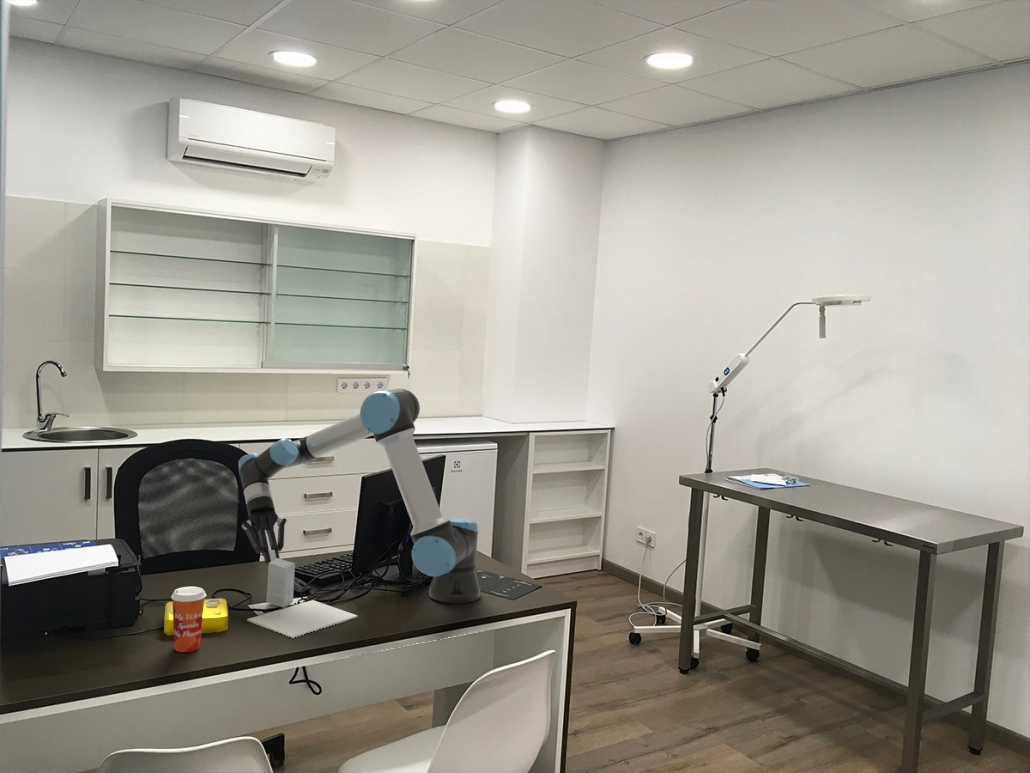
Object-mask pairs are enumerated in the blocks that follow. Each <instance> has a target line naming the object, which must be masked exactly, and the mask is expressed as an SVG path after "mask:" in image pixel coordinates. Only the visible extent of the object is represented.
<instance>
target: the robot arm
mask: <svg viewBox="0 0 1030 773" xmlns="http://www.w3.org/2000/svg"><path fill="white" fill-rule="evenodd" d="M420 406H421V405H420V402H419V399H418V398H417V396H416V395H415V394H414V393H413V392H412V391H410V390H409V389H405V388H394V389H381V390H378V391H374V392H372V393H370V394H369V395H367V396H366V398H365V399H363V402H362V404H361V406H360V410H359V413H358V414H355V415H353V416H351V417H348V418H346V419H344V420H341V421H339V422H337V423H335V424H332V425H329V426H327V427H325V428H323V429H320V430H318V431H315V432H313V433H311V434H309V435H307V436H306V435H305V436H304V437H301V438H299V439H295V440H291V439H288V438H286V437H284V438H281V439H279V440H278V441H276V442H274V443H272V444H271V446H269V447H268V448H267V449H265V450H264V451H263V452H260V454H259V453H257V452H256V453H255V452H254V453H253V452H251V453H248V454H246V455H243V456H241V458H240V459H239V460H238V474H239V478H240V481H241V485H242V489H243V495H244V500H245V504H246V510H247V515H248V517H247V518H248V519H247V520H246V521H243V522H242V525H241V529H242V530H243V532H244V533H246V536H247V537H248V539H249V541H250V544H251V546H252V548H253V549H254V552H255V553H256V554H261V556H263V559H264V563H265V565H269V563H270V562H272V561H273V560H275V559H277V558H279V559H281V558H280V553H279V552H281V551H282V550H283V548H284V546H285V545H284V544H285V525H286V523H287V521H288V520H287V519H286V518H280V517H279V515H278V514H277V513H276V509H275V508H276V507H275V505H274V501H273V495H272V491H271V488H270V483H269V479H271V478H272V477H274V475H275V476H276V474H278V473H279V472H281V471H282V470H285V469H287V468H291V467H296V466H300V465H306V464H308V463H311V462H313V461H315V460H316V459H318V458H320V457H322V456H323V457H324V456H325V455H328V454H329V453H333V452H335V451H337V450H340V449H342V448H344V447H347V446H349V445H352V444H354V443H356V442H359V441H362V440H364V439H366V438H369V437H372V436H373V438H374V440H375V442H376V444H377V445H380V446H382V447H383V448H384V451H385V453H386V456H387V459H388V462H389V464H390V468H391V470H392V473H393V475H394V478H395V481H396V483H397V487H398V489H399V492H400V494H401V497H402V499H403V502H404V505H405V507H406V510H407V514H408V516H409V519H410V521H411V524H412V526H413V527H412V530H411V532H410V537H411V540H412V542H413V545H412V549H411V559H412V563H413V564H414V566H415V567H416V569H418V571H420V573H422V574H424V575H426V576H428V577H432V580H431V582H430V585H429V588H428V595H429V597H430V598H431V599H433V600H434V601H437V602H440V603H445V604H446V603H448V604H468V603H469V604H470V603H472V602H475V601H478V600H479V599H480V598H481V588H480V585H479V580H478V577H477V572H476V566H477V565H476V563H477V549H478V547H477V546H478V536H479V535H478V534H479V531H478V530H479V527H478V523H477V522H476V521H475V520H472V519H468V518H467V519H466V518H458V517H457V518H456V517H446V516H444V515H443V514H442V512H441V509H440V506H439V504H438V501H437V498H436V495H435V493H434V490H433V487H432V484H431V482H430V479H429V477H428V474H427V471H426V468H425V466H424V464H423V461H422V458H421V455H420V453H419V450H418V446H417V444H416V442H415V439H414V437H413V435H414V433H415V431H416V427H415V422H416V420H417V419H418V418H419V415H420V409H421V407H420ZM276 523H277V527H278V529H277V538H276V535H275V530H274V529H275V525H276ZM254 529H255V530H256V531H255V530H254ZM256 532H257V534H256ZM257 535H258V536H257ZM267 537H268V539H267ZM268 542H269V544H268ZM269 546H270V548H269ZM269 549H270V550H269Z"/></svg>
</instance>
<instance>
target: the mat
mask: <svg viewBox="0 0 1030 773" xmlns="http://www.w3.org/2000/svg"><path fill="white" fill-rule="evenodd" d="M356 618H358V615H357V614H354V613H351V612H348V611H345V610H343V609H340V608H337V607H334V606H331V605H328V604H325V603H322V602H319V601H316V600H314V599H312V600H308V601H305V602H302V603H301V602H300V603H299V604H295V605H291V606H287V607H285V608H279V609H278V610H274V611H270V612H267V613H263V614H260V615H257V616H254V617H250V618H247V619H246V621H247V622H249V623H252V624H253V625H257V626H259V627H261V628H265V629H267V630H269V629H270V630H269V631H271V630H273V631H272V632H274V631H275V632H274V633H276V632H278V633H277V634H279V633H281V634H283V635H282V636H284V635H286V636H285V637H287V636H288V637H287V638H289V637H291V638H290V639H292V638H293V639H296V638H299V637H302V636H305V635H304V634H306V633H309V634H311V633H310V632H312V633H314V632H313V631H315V632H317V630H318V631H320V630H319V629H321V630H323V629H322V628H324V629H327V628H329V626H330V627H332V625H333V626H336V625H339V624H342V623H344V622H347V621H351V620H353V619H356ZM335 624H336V625H335ZM326 627H327V628H326ZM281 634H280V635H281ZM301 635H302V636H301ZM306 635H307V634H306ZM298 636H299V637H298ZM295 637H296V638H295Z"/></svg>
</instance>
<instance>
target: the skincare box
mask: <svg viewBox="0 0 1030 773" xmlns="http://www.w3.org/2000/svg"><path fill="white" fill-rule="evenodd" d="M279 558H280V557H279ZM279 558H277V559H275V560H273V561H272V562H270V563H269V564H267V566H268V568H267V569H268V570H267V586H266V587H267V588H266V603H267V604H271V605H274V606H277V607H280V608H282V609H284V608H287V607H289V605H291V604H292V603H293V601H294V591H295V590H294V587H295V570H296V562H292V561H290V560H286V559H282V558H280V559H279Z"/></svg>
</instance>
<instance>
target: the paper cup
mask: <svg viewBox="0 0 1030 773" xmlns="http://www.w3.org/2000/svg"><path fill="white" fill-rule="evenodd" d="M206 597H207V594H206V591H205V590H204V588H202V587H199V586H183V587H179V588H176V589H175V590H174V591H173V593H172V595H171V598H170V599H172V601H173V628H174V636H173V645H174V647H173V648H174V651H175V650H176V651H179V652H190V651H194V650H197V649H198V650H200V647H201V646H200V645H201V637H202V634H201V629H202V618H203V607H204V599H206ZM198 650H197V651H198ZM176 651H175V652H176ZM179 652H178V653H179ZM194 652H195V651H194ZM190 653H191V652H190Z"/></svg>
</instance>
